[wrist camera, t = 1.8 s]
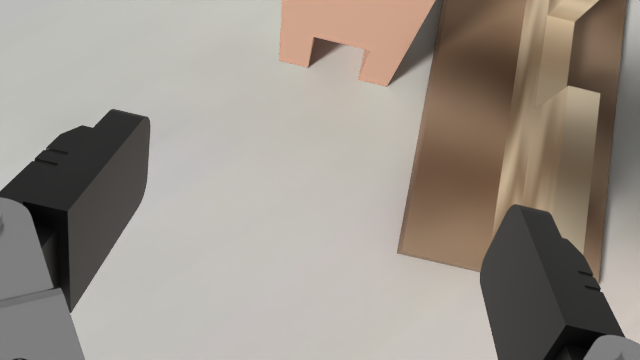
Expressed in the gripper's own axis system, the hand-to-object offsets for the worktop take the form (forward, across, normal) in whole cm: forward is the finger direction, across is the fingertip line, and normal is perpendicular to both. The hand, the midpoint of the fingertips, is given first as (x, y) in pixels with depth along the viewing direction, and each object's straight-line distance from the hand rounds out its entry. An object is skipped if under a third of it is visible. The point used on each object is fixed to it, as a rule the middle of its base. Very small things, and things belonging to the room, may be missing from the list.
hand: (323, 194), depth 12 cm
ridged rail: (+19, -10, +3) cm, 22 cm away
